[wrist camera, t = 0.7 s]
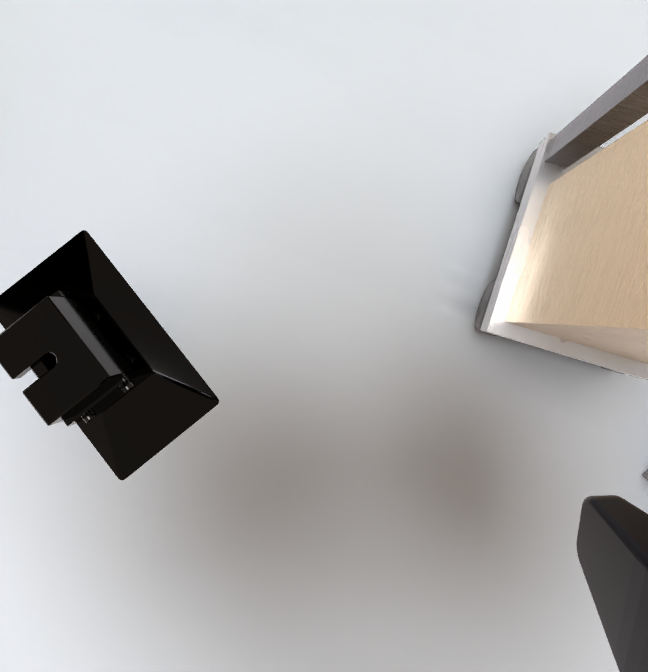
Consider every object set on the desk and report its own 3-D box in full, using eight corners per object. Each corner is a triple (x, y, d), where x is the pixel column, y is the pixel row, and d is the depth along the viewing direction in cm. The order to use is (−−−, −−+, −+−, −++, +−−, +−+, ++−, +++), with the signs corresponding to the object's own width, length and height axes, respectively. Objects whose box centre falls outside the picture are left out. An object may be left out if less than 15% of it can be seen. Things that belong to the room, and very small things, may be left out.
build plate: (-38, 288, 23) (-135, 281, 18) (87, 185, 22) (20, 152, 18) (132, 512, 23) (78, 560, 18) (262, 413, 22) (239, 437, 18)
